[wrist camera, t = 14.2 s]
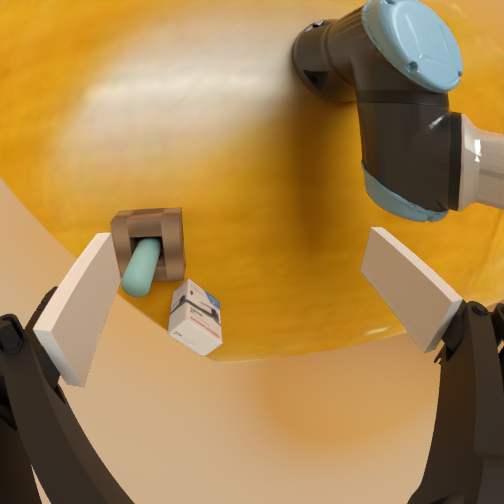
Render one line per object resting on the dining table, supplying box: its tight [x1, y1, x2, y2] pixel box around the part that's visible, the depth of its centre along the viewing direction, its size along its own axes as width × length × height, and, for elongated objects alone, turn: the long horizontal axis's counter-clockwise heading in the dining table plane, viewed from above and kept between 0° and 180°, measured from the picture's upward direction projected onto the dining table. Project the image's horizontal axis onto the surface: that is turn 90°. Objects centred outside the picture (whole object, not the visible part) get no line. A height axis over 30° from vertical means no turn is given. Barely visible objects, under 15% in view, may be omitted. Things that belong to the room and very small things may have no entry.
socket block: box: [110, 208, 186, 281], centre depth 43 cm, size 11×11×5 cm
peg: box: [121, 236, 163, 297], centre depth 39 cm, size 4×4×14 cm
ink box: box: [168, 279, 223, 356], centre depth 47 cm, size 8×5×12 cm, turn 41°
